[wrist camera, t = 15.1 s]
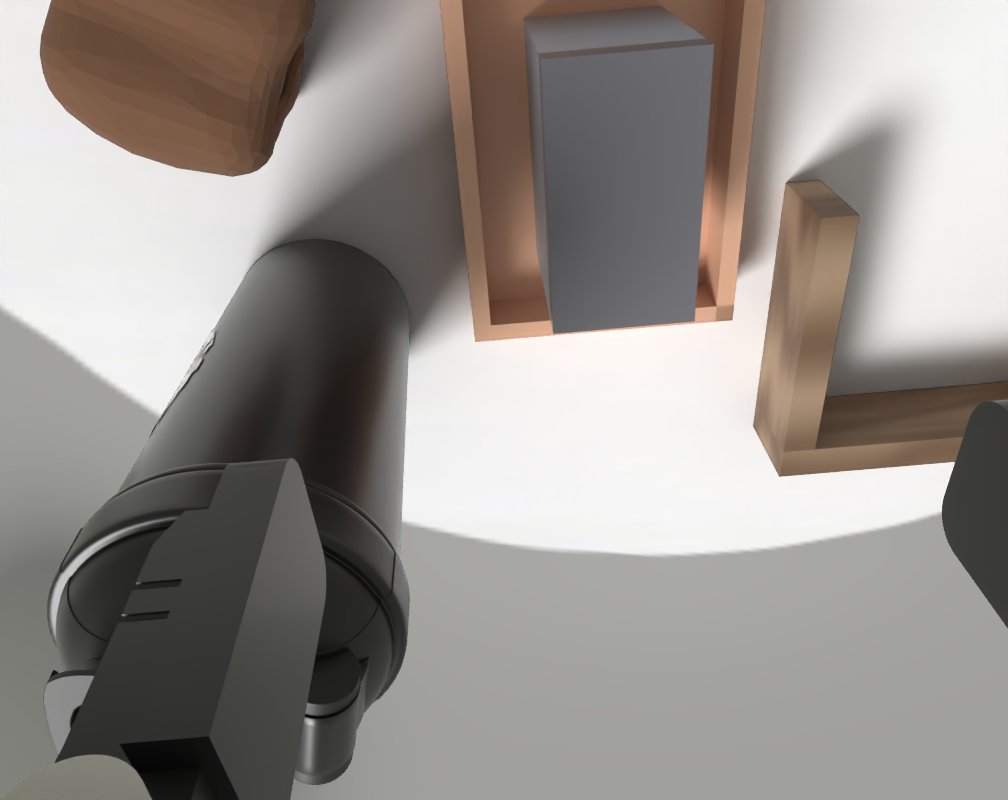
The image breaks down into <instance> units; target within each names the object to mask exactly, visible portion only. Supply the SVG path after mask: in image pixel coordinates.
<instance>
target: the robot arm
mask: <svg viewBox="0 0 1008 800" xmlns="http://www.w3.org/2000/svg"><path fill="white" fill-rule="evenodd" d="M942 520H943V527H944V531H945V535H946V537H947V540H948V543H949V545H950V547H951V549H952V550H953V552H954V554H955V555H956V556H957V558H958V559H959V561H960V562H961V563H962V565H963V566H964V567H965V569H966V570H967V572H968V573H969V574H970V576H971V577H972V579H973V580H974V582H975V583H976V584H977V586H978V587H979V589H980V590H981V591H982V593H983V594H984V596H985V597H986V598H987V600H988V601H989V603H990V604H991V605H992V607H993V608H994V610H995V611H996V612H997V614H998V615H999V617H1000V618H1001V619H1002V621H1003V622H1004V623H1005V625H1006V626H1007V628H1008V400H996V401H986V402H983V403H981V404H979V405H978V406H977V407H976V408H975V409H974V410H973V412H972V414H971V416H970V418H969V421H968V424H967V427H966V430H965V434H964V437H963V440H962V443H961V446H960V449H959V452H958V455H957V458H956V462H955V465H954V468H953V471H952V474H951V477H950V480H949V483H948V486H947V490H946V493H945V496H944V499H943V505H942ZM325 598H326V567H325V559H324V553H323V549H322V545H321V542H320V538H319V534H318V531H317V527H316V523H315V520H314V516H313V512H312V509H311V505H310V502H309V498H308V494H307V491H306V487H305V483H304V480H303V476H302V473H301V470H300V467H299V465H298V463H297V461H296V460H295V459H293V458H289V459H277V460H266V461H254V462H242V463H231V464H229V465H227V466H226V468H225V469H224V471H223V473H222V476H221V479H220V481H219V484H218V486H217V489H216V492H215V494H214V497H213V500H212V502H211V505H210V507H209V509H203V510H191V511H184V512H183V513H182V515H181V516H180V517H179V518H178V519H177V520H176V521H175V522H174V523H173V524H172V525H171V526H170V527H169V528H168V529H167V530H166V531H165V532H164V533H163V534H162V535H161V536H160V538H159V539H158V540H157V541H156V542H155V543H154V544H153V545H152V547H151V549H150V552H149V554H148V556H147V558H146V561H145V563H144V565H143V567H142V570H141V572H140V574H139V576H138V579H137V581H136V590H132V592H131V594H130V597H129V599H128V601H127V603H126V606H125V608H124V610H123V612H122V622H121V623H118V624H117V626H116V628H115V630H114V633H113V635H112V637H111V639H110V642H109V644H108V646H107V648H106V651H105V653H104V655H103V657H102V660H101V662H100V664H99V667H98V669H97V671H96V673H95V676H94V678H93V680H92V682H91V685H90V687H89V689H88V691H87V694H86V696H85V698H84V700H83V703H82V705H81V707H80V709H79V712H78V714H77V716H76V718H75V721H74V723H73V725H72V727H71V730H70V732H69V734H68V736H67V739H66V741H65V743H64V745H63V748H62V750H61V751H60V753H59V755H58V757H57V759H56V761H55V763H54V764H52V765H49V766H47V767H45V768H43V769H41V770H39V771H37V772H36V773H34V774H32V775H30V776H29V777H27V778H26V779H24V780H23V781H22V782H20V783H18V784H17V785H16V786H14V787H13V788H12V789H11V790H10V791H8V792H7V793H6V794H5V795H4V796H3V797H1V798H0V800H290V797H291V791H292V785H293V780H294V774H295V768H296V763H297V757H298V752H299V746H300V740H301V735H302V729H303V723H304V718H305V712H306V707H307V701H308V695H309V690H310V684H311V678H312V673H313V667H314V662H315V656H316V650H317V645H318V639H319V633H320V628H321V622H322V617H323V611H324V605H325Z"/></svg>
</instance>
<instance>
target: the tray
mask: <svg viewBox="0 0 1008 800" xmlns="http://www.w3.org/2000/svg"><path fill="white" fill-rule="evenodd" d="M765 4H766V0H440V7H441V16H442V26H443V36H444V45H445V55H446V65H447V74H448V84H449V93H450V103H451V113H452V122H453V132H454V142H455V151H456V161H457V171H458V180H459V190H460V200H461V209H462V219H463V228H464V238H465V248H466V257H467V267H468V277H469V286H470V296H471V306H472V315H473V325H474V335H475V342H480V341H491V340H503V339H515V338H527V337H539V336H550V335H562V334H574V333H586V332H598V331H609V330H621V329H633V328H645V327H657V326H669V325H680V324H692V323H704V322H716V321H728V320H732V318H733V308H734V299H735V289H736V280H737V270H738V261H739V251H740V242H741V232H742V223H743V213H744V204H745V194H746V185H747V175H748V166H749V156H750V147H751V137H752V128H753V118H754V109H755V99H756V90H757V80H758V71H759V61H760V52H761V42H762V33H763V23H764V14H765ZM650 6H662V7H663V8H665V9H666V10H668V11H669V12H670V13H672V14H673V15H675V16H676V17H677V18H679V19H680V20H681V21H683V22H684V23H686V24H687V25H688V26H690V27H691V28H692V29H694V30H695V31H697V32H698V33H699V34H701V35H702V36H703V37H705V38H706V39H708V40H709V41H710V42H712V43H713V44H714V53H713V67H712V81H711V95H710V110H709V124H708V138H707V153H706V167H705V181H704V196H703V210H702V224H701V239H700V253H699V267H698V281H697V296H696V310H695V321H694V322H683V323H672V324H660V325H649V326H638V327H626V328H615V329H604V330H593V331H581V332H570V333H559V334H553V330H552V325H551V320H550V315H549V310H548V305H547V300H546V295H545V290H544V285H543V280H542V275H541V270H540V265H539V260H538V256H537V251H536V233H535V215H534V197H533V179H532V160H531V142H530V124H529V106H528V87H527V69H526V51H525V32H524V18H527V17H538V16H549V15H561V14H572V13H583V12H594V11H605V10H617V9H628V8H639V7H650Z"/></svg>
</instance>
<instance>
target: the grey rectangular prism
mask: <svg viewBox="0 0 1008 800" xmlns="http://www.w3.org/2000/svg"><path fill="white" fill-rule="evenodd" d="M524 32H525V51H526V69H527V87H528V106H529V124H530V142H531V160H532V179H533V197H534V215H535V233H536V251H537V256H538V260H539V265H540V270H541V275H542V280H543V285H544V290H545V295H546V300H547V305H548V310H549V315H550V320H551V325H552V330H553V334H559V333H570V332H581V331H593V330H604V329H615V328H626V327H638V326H649V325H660V324H672V323H683V322H694V321H695V310H696V296H697V281H698V267H699V253H700V239H701V224H702V210H703V196H704V181H705V167H706V153H707V138H708V124H709V110H710V95H711V81H712V67H713V53H714V44H713V43H712V42H710V41H709V40H708V39H706V38H705V37H703V36H702V35H701V34H699V33H698V32H697V31H695V30H694V29H692V28H691V27H690V26H688V25H687V24H686V23H684V22H683V21H681V20H680V19H679V18H677V17H676V16H675V15H673V14H672V13H670V12H669V11H668V10H666V9H665V8H663V7H662V6H650V7H639V8H628V9H617V10H605V11H594V12H583V13H572V14H561V15H549V16H538V17H527V18H524Z"/></svg>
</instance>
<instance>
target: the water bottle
mask: <svg viewBox="0 0 1008 800" xmlns="http://www.w3.org/2000/svg"><path fill="white" fill-rule="evenodd" d="M409 329H410V317H409V309H408V305H407V302H406V299H405V296H404V294H403V292H402V290H401V288H400V286H399V284H398V283H397V281H396V280H395V278H394V277H393V276H392V275H391V273H390V272H389V271H388V270H387V269H386V268H385V267H384V266H383V265H382V264H381V263H379V262H378V261H377V260H375V259H374V258H373V257H371V256H370V255H368V254H366V253H365V252H363V251H361V250H359V249H357V248H354V247H352V246H349V245H346V244H343V243H339V242H335V241H329V240H318V239H311V240H301V241H295V242H291V243H287V244H284V245H282V246H279V247H277V248H275V249H273V250H271V251H270V252H268V253H266V254H265V255H264V256H262V257H261V258H260V259H259V260H258V261H257V262H256V263H255V264H254V265H253V266H252V267H251V268H250V270H249V271H248V272H247V274H246V276H245V277H244V279H243V281H242V282H241V284H240V286H239V287H238V289H237V291H236V293H235V294H234V296H233V298H232V299H231V301H230V303H229V304H228V306H227V308H226V310H225V311H224V313H223V315H222V316H221V318H220V320H219V321H218V323H217V325H216V327H215V328H214V330H212V331H211V332H212V333H211V334H209V336H208V338H207V339H206V341H205V343H204V344H203V346H202V347H203V348H202V349H200V351H199V353H200V354H199V353H198V355H197V356H196V358H195V360H194V361H193V362H194V363H192V365H191V366H190V369H189V370H188V372H187V373H186V375H185V376H184V378H183V380H182V381H181V383H180V385H181V386H180V385H179V387H178V388H177V389H178V390H176V393H174V396H173V397H172V398H171V400H170V402H169V403H168V405H167V407H166V408H165V410H164V412H163V413H162V415H161V418H160V420H158V421H159V422H158V425H157V424H156V425H157V427H156V425H155V427H154V429H153V431H152V433H151V435H150V438H149V440H148V442H147V444H146V445H145V447H144V449H143V451H142V452H141V454H140V456H139V457H138V459H137V461H136V462H135V464H134V466H133V468H132V469H131V471H130V473H129V474H128V476H127V478H126V479H125V481H124V483H123V484H122V486H121V488H120V489H119V491H118V493H117V494H116V495H114V496H113V497H112V498H111V499H109V500H108V501H107V502H106V503H105V504H104V505H103V506H102V507H101V508H100V509H99V510H98V511H97V512H96V513H95V514H94V515H93V516H92V517H91V518H90V519H89V521H88V522H87V523H86V524H85V526H84V527H83V528H81V529H80V531H79V533H78V535H77V536H76V538H75V540H74V542H73V544H72V545H71V547H70V549H69V551H68V553H67V554H66V556H65V558H64V560H63V561H62V563H61V565H60V567H59V569H58V571H57V573H56V575H55V577H54V580H53V582H52V586H51V589H50V592H49V597H48V603H47V618H48V625H49V629H50V633H51V636H52V639H53V641H54V644H55V646H56V648H57V650H58V655H59V658H60V662H61V665H62V667H63V670H64V672H62V673H58V672H56V671H55V670H53V672H52V674H51V676H50V678H49V680H48V682H47V684H46V687H45V690H44V696H43V698H44V709H45V714H46V719H47V724H48V727H49V731H50V734H51V738H52V741H53V744H54V747H55V749H56V751H57V753H58V755H59V753H60V751H61V750H62V748H63V745H64V743H65V741H66V739H67V736H68V734H69V732H70V730H71V727H72V725H73V723H74V721H75V718H76V716H77V714H78V712H79V709H80V707H81V705H82V703H83V700H84V698H85V696H86V694H87V691H88V689H89V687H90V685H91V682H92V680H93V678H94V676H95V673H96V671H97V669H98V667H99V664H100V662H101V660H102V657H103V655H104V653H105V651H106V648H107V646H108V644H109V642H110V639H111V637H112V635H113V633H114V630H115V628H116V626H117V624H118V623H121V622H122V612H123V610H124V608H125V606H126V603H127V601H128V599H129V597H130V594H131V592H132V590H136V581H137V579H138V576H139V574H140V572H141V570H142V567H143V565H144V563H145V561H146V558H147V556H148V554H149V552H150V549H151V547H152V545H153V544H154V543H155V542H156V541H157V540H158V539H159V538H160V536H161V535H162V534H163V533H164V532H165V531H166V530H167V529H168V528H169V527H170V526H171V525H172V524H173V523H174V522H175V521H176V520H177V519H178V518H179V517H180V516H181V515H182V513H183V512H184V511H191V510H203V509H209V507H210V505H211V502H212V500H213V497H214V494H215V492H216V489H217V486H218V484H219V481H220V479H221V476H222V473H223V471H224V469H225V468H226V466H227V465H229V464H231V463H242V462H254V461H266V460H277V459H289V458H293V459H295V460H296V461H297V463H298V465H299V467H300V470H301V473H302V476H303V480H304V483H305V487H306V491H307V494H308V498H309V502H310V505H311V509H312V512H313V516H314V520H315V523H316V527H317V531H318V534H319V538H320V542H321V545H322V549H323V553H324V559H325V567H326V598H325V605H324V611H323V617H322V622H321V628H320V633H319V639H318V645H317V650H316V656H315V662H314V667H313V673H312V678H311V684H310V690H309V695H308V701H307V707H306V712H305V718H304V723H303V729H302V735H301V740H300V746H299V752H298V757H297V763H296V768H295V774H294V778H295V779H296V780H298V781H300V782H302V783H305V784H310V785H320V784H326V783H329V782H331V781H333V780H335V779H337V778H338V777H339V776H341V775H342V774H343V773H344V772H345V771H346V769H347V768H348V766H349V764H350V762H351V760H352V756H353V750H354V747H355V740H356V730H357V728H358V726H359V724H360V722H361V719H362V717H363V714H364V713H365V712H366V710H367V709H368V708H369V707H370V706H371V704H372V703H374V702H375V701H376V700H377V699H379V698H380V697H381V696H382V695H383V694H384V693H385V692H386V691H387V690H388V688H389V687H390V686H391V684H392V683H393V681H394V680H395V678H396V676H397V674H398V673H399V670H400V668H401V666H402V663H403V659H404V656H405V651H406V646H407V635H408V619H409V602H410V600H409V599H410V597H409V587H408V582H407V579H406V575H405V572H404V569H403V566H402V563H401V560H400V542H401V520H402V496H403V472H404V448H405V424H406V400H407V377H408V353H409Z"/></svg>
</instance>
